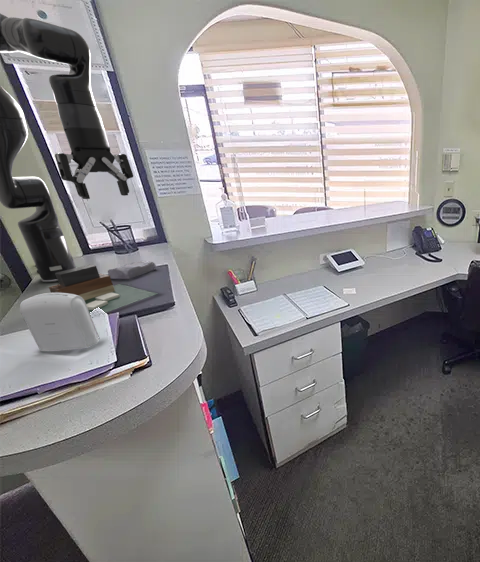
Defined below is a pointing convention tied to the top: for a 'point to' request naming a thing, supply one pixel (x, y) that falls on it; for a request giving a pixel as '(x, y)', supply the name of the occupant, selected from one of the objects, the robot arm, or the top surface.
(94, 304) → the chalk smudge
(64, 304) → the photo printer
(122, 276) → the stone block
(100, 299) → the chalk smudge
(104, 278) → the eraser
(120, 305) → the chalkboard
